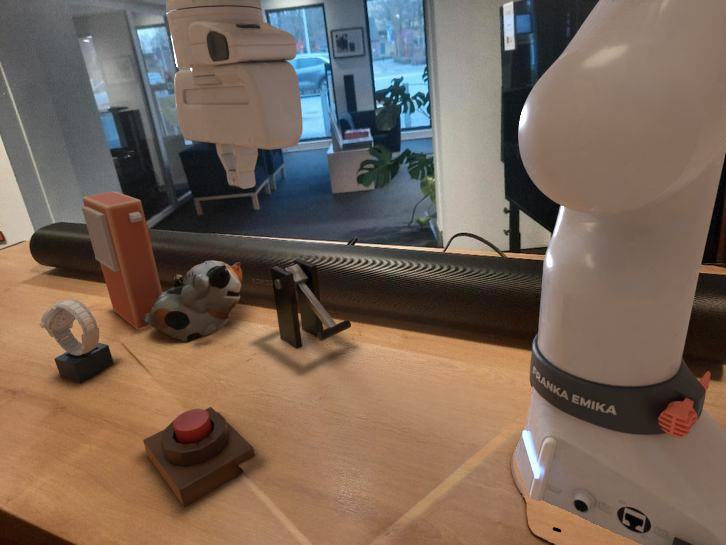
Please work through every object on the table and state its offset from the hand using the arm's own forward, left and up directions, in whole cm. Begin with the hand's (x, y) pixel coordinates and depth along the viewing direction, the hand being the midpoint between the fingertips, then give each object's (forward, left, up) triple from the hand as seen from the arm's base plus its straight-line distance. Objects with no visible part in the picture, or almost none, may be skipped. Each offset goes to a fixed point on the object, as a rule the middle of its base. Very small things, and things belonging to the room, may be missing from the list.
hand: (242, 186), depth 53 cm
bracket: (+8, -10, -27) cm, 30 cm away
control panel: (+39, +4, -27) cm, 48 cm away
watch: (+26, +16, -27) cm, 41 cm away
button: (-4, +12, -24) cm, 27 cm away
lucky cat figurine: (+26, -2, -27) cm, 38 cm away
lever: (+5, -10, -20) cm, 22 cm away
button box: (-4, +12, -27) cm, 30 cm away
